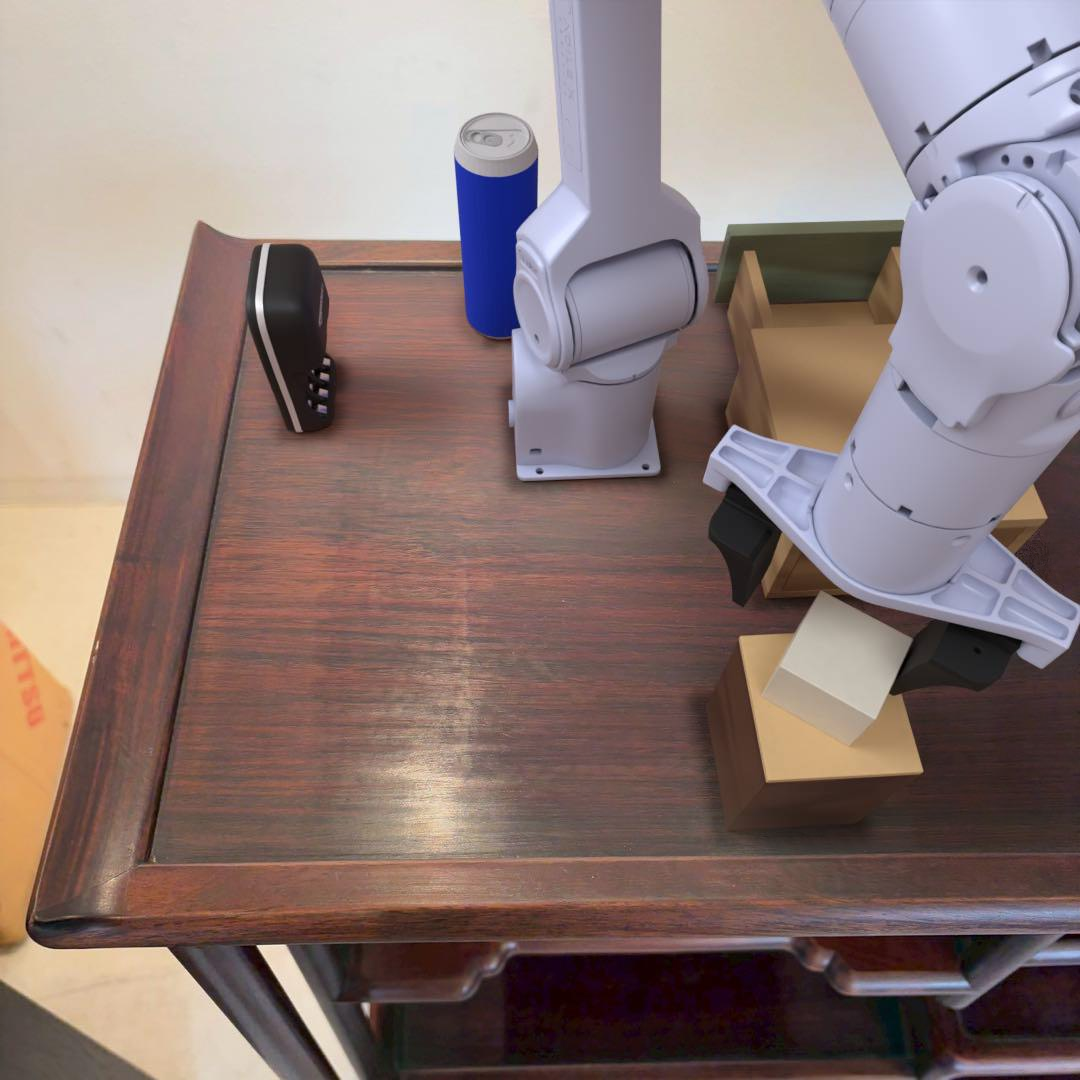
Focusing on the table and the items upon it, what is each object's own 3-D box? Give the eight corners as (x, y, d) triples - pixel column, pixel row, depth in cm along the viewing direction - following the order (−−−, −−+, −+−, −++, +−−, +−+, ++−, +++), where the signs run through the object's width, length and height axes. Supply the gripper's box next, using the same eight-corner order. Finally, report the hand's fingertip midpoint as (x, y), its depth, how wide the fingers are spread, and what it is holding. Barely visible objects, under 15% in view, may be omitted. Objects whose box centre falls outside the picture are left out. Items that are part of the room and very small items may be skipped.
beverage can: (539, 296, 67) (542, 112, 54) (532, 346, 65) (534, 165, 52) (471, 290, 67) (459, 106, 55) (461, 340, 65) (446, 159, 52)
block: (760, 696, 41) (779, 665, 38) (799, 624, 43) (820, 589, 40) (849, 747, 40) (876, 720, 37) (885, 671, 42) (914, 638, 39)
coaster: (765, 783, 39) (768, 780, 39) (738, 639, 43) (739, 635, 43) (920, 774, 40) (924, 771, 39) (880, 632, 43) (883, 628, 43)
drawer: (708, 281, 67) (724, 212, 62) (869, 276, 68) (899, 207, 62) (743, 435, 60) (765, 371, 54) (923, 428, 60) (963, 365, 55)
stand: (726, 831, 47) (765, 783, 39) (705, 705, 51) (738, 639, 43) (855, 823, 47) (920, 774, 40) (826, 699, 51) (880, 632, 43)
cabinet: (724, 412, 62) (750, 328, 55) (916, 405, 62) (965, 321, 55) (764, 598, 54) (800, 528, 47) (982, 588, 55) (1048, 518, 48)
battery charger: (343, 435, 60) (308, 310, 50) (287, 437, 60) (240, 313, 50) (348, 358, 64) (316, 227, 54) (294, 360, 64) (252, 230, 54)
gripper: (1186, 483, 30) (999, 650, 41) (795, 299, 34) (725, 498, 45) (1124, 640, 27) (941, 772, 38) (703, 417, 31) (653, 598, 42)
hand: (819, 631), depth 42 cm, fingers open, 7 cm apart
